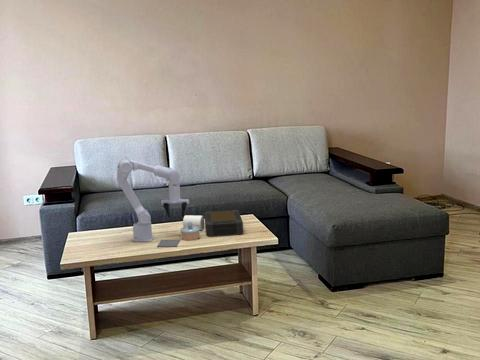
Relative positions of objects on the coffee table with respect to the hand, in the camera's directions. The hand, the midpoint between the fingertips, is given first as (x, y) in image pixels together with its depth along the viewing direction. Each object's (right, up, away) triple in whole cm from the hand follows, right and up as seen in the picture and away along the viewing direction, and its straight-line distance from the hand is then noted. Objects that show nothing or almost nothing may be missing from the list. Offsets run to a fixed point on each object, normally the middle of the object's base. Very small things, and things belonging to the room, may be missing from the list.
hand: (176, 216), depth 268 cm
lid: (+8, -7, -4) cm, 11 cm away
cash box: (+25, -8, +10) cm, 29 cm away
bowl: (+8, -11, -3) cm, 14 cm away
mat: (-2, -13, -11) cm, 18 cm away
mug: (+9, -8, +13) cm, 18 cm away
